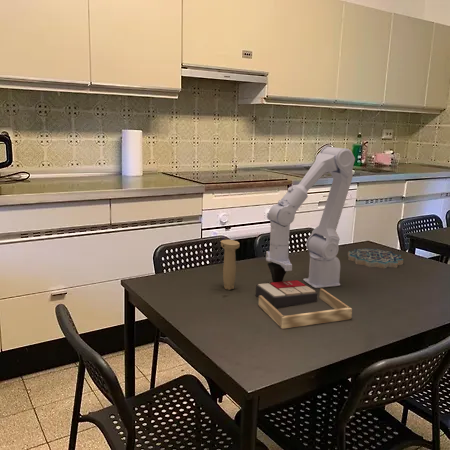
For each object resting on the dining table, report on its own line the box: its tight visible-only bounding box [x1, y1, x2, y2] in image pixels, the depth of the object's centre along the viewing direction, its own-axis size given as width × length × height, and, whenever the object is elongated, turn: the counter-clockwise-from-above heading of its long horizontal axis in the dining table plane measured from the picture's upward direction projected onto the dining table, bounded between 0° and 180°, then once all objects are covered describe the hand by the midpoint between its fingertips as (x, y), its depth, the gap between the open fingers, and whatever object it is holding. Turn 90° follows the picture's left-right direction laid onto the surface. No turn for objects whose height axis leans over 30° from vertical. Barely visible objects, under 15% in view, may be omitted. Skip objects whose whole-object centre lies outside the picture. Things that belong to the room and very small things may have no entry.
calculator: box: [255, 279, 318, 309], centre depth 136 cm, size 11×4×15 cm
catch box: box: [258, 287, 353, 330], centre depth 127 cm, size 21×16×3 cm
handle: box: [220, 239, 240, 291], centre depth 142 cm, size 5×6×15 cm
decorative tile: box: [347, 247, 404, 269], centre depth 176 cm, size 20×20×2 cm
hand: (277, 285), depth 143 cm, fingers closed
